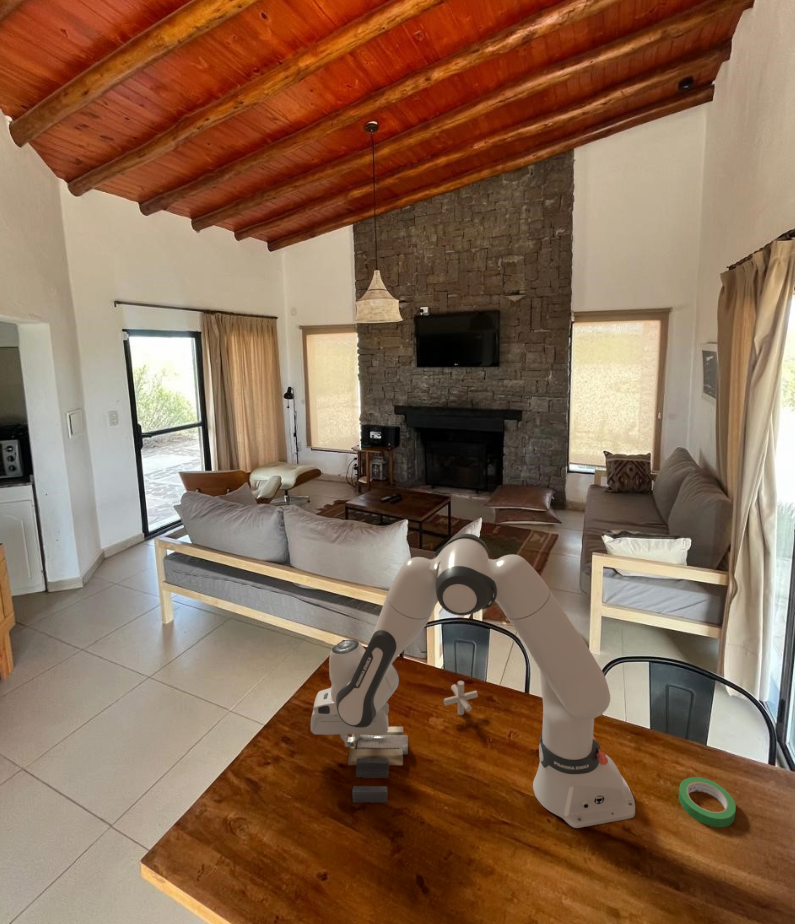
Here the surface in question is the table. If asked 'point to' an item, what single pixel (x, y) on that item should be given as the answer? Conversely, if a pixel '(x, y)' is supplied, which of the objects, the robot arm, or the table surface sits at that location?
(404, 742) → the axle
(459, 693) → the pipe connector
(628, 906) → the table surface
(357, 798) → the dark blocks
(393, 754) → the beige u-shaped bracket
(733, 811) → the tape roll
